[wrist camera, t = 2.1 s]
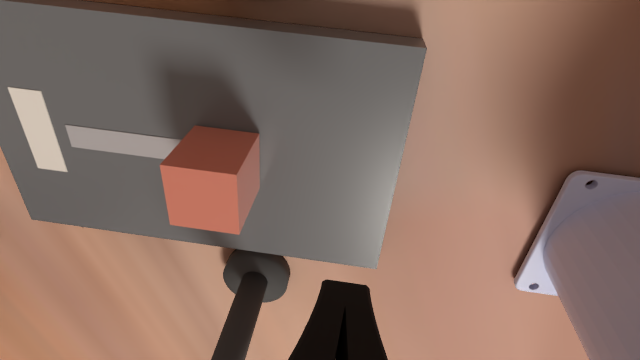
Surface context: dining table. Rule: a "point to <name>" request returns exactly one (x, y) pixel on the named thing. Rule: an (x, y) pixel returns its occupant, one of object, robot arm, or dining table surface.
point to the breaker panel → (205, 120)
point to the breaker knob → (212, 179)
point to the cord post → (249, 297)
